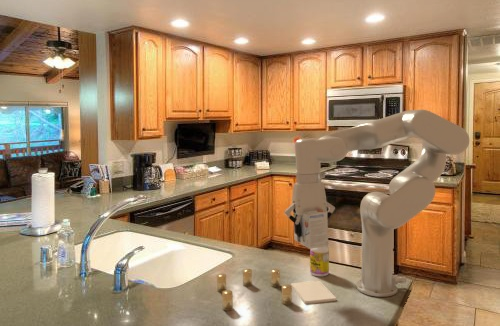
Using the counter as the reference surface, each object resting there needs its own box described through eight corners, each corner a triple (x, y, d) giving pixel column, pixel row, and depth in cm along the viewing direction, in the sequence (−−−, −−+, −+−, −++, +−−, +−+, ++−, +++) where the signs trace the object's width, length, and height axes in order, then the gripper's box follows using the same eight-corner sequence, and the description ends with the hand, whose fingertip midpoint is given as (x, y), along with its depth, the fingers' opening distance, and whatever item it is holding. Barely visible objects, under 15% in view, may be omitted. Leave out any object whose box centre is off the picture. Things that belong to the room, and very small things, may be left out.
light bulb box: (293, 240, 131) (292, 207, 130) (312, 237, 133) (310, 205, 132) (310, 249, 121) (308, 214, 120) (329, 246, 123) (328, 211, 122)
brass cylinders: (276, 280, 139) (276, 266, 139) (293, 304, 121) (293, 288, 120) (215, 285, 135) (215, 271, 135) (223, 311, 117) (222, 294, 116)
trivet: (319, 282, 136) (319, 280, 136) (336, 300, 123) (336, 298, 123) (291, 285, 135) (291, 283, 134) (304, 303, 121) (304, 301, 121)
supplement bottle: (306, 273, 146) (306, 238, 144) (319, 269, 149) (319, 235, 148) (319, 278, 140) (319, 242, 139) (332, 274, 144) (333, 239, 143)
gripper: (330, 175, 130) (332, 228, 132) (278, 179, 127) (280, 234, 129) (340, 177, 123) (341, 234, 125) (284, 182, 120) (287, 240, 121)
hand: (310, 234), depth 127 cm, fingers closed on light bulb box, 7 cm apart
